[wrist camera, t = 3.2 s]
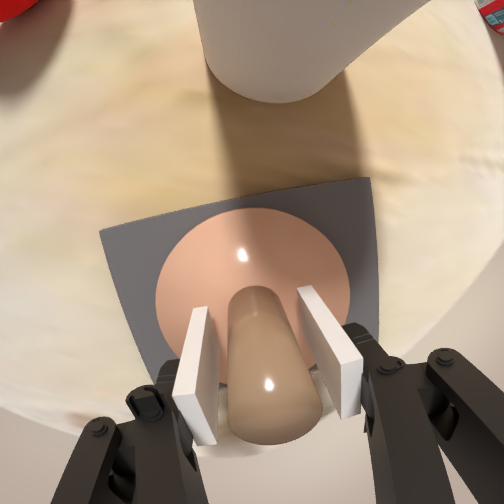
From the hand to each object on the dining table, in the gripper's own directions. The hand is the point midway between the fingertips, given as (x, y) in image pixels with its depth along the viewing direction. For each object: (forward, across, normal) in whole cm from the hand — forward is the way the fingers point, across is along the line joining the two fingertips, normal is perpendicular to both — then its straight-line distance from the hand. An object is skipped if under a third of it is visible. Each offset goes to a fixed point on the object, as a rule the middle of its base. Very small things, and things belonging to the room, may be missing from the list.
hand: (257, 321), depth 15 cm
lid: (+2, 0, 0) cm, 2 cm away
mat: (+3, 0, 0) cm, 3 cm away
